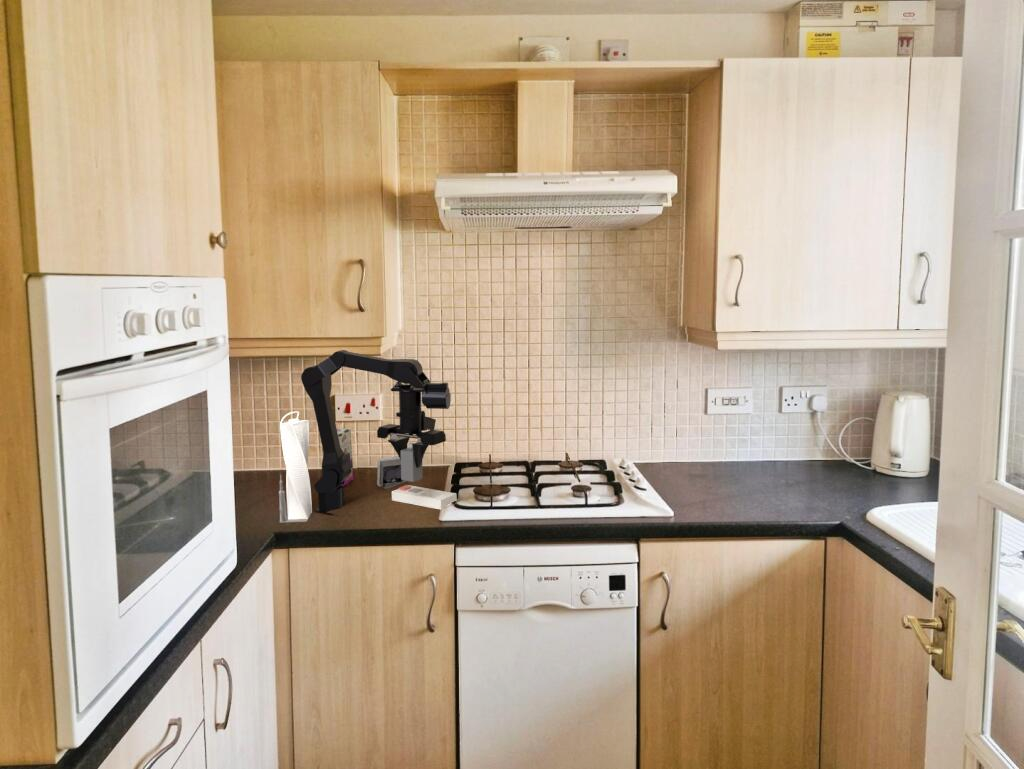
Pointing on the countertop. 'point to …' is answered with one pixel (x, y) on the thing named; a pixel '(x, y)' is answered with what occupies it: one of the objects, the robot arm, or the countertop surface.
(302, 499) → the skyscraper
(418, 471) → the block
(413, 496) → the power strip
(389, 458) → the electrical switch
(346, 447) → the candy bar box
